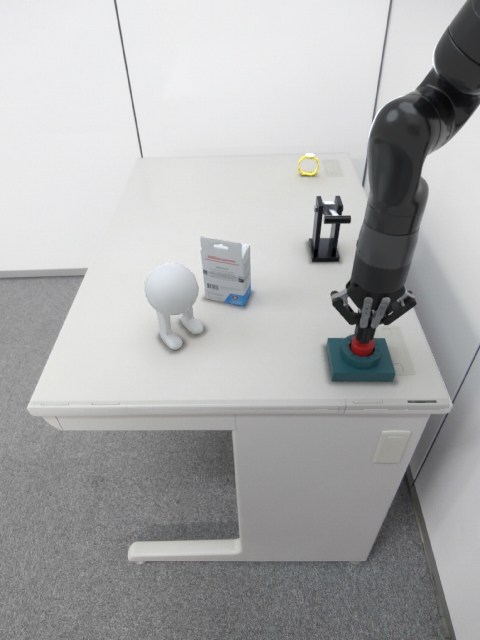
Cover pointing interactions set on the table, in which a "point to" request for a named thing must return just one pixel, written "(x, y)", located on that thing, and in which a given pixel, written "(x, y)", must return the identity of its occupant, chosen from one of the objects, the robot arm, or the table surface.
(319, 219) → the bracket
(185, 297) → the toy character
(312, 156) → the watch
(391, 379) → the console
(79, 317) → the table surface
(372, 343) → the stop button
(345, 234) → the table surface
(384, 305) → the robot arm
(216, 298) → the ink box
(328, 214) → the lever
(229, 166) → the table surface
